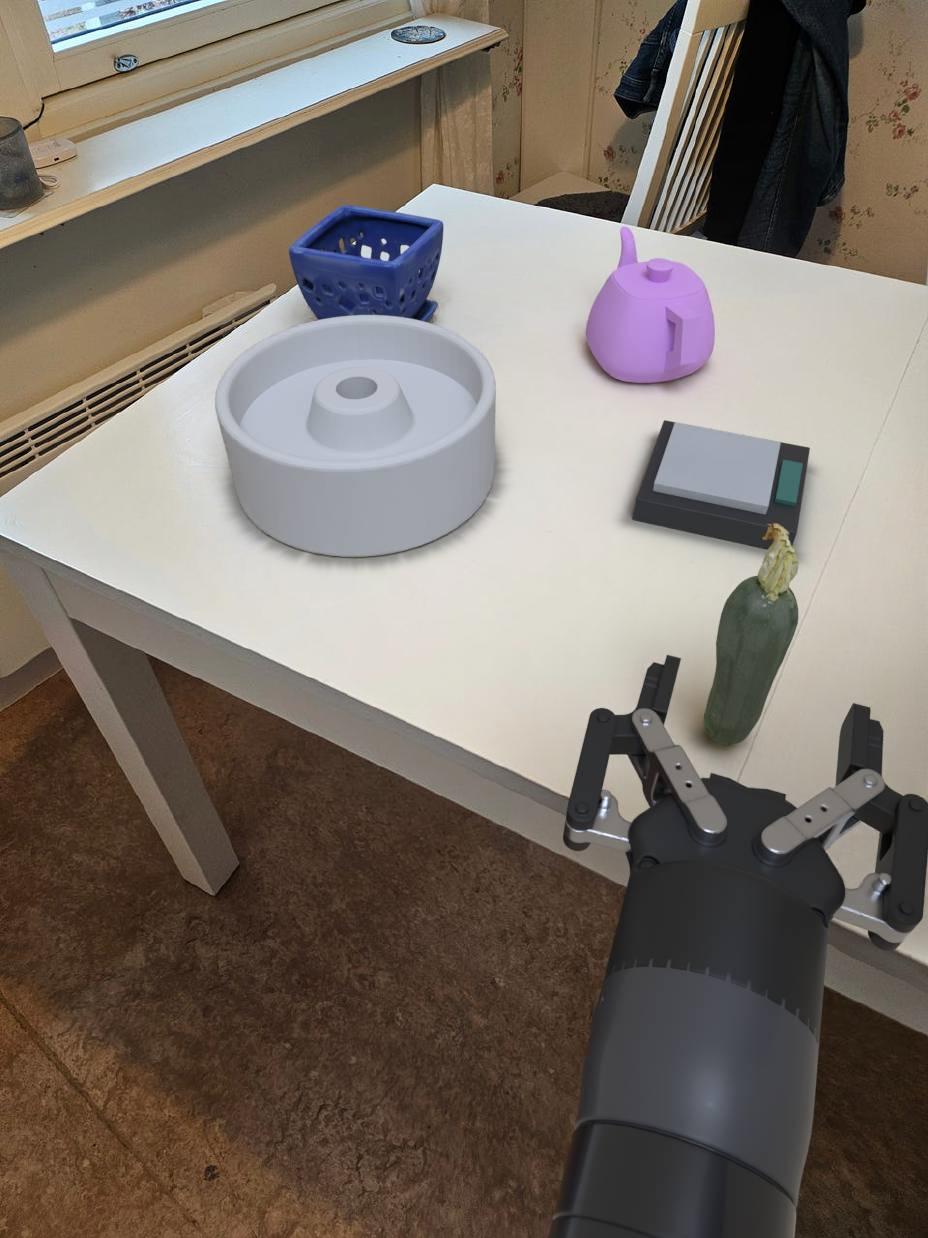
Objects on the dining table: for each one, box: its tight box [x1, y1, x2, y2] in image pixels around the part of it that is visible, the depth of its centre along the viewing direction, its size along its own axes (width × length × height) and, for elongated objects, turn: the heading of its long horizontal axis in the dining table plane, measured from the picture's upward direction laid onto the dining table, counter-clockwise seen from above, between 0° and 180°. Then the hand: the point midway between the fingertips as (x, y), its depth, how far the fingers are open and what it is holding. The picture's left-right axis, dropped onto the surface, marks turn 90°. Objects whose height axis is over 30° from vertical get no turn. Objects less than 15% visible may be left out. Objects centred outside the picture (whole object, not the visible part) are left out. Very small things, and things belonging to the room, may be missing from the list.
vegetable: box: [703, 523, 799, 747], centre depth 55 cm, size 4×4×20 cm
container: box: [214, 315, 497, 558], centre depth 81 cm, size 25×25×10 cm
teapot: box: [585, 225, 716, 384], centre depth 95 cm, size 13×20×11 cm
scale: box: [632, 419, 811, 550], centre depth 81 cm, size 14×13×4 cm
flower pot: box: [288, 204, 444, 322], centre depth 99 cm, size 13×13×12 cm
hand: (760, 690), depth 41 cm, fingers open, 8 cm apart
